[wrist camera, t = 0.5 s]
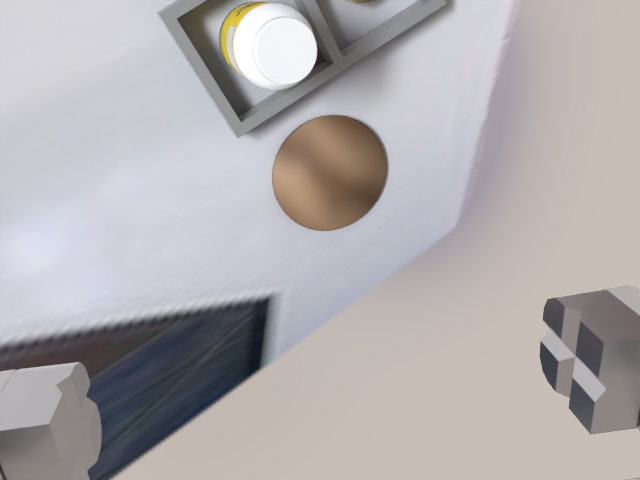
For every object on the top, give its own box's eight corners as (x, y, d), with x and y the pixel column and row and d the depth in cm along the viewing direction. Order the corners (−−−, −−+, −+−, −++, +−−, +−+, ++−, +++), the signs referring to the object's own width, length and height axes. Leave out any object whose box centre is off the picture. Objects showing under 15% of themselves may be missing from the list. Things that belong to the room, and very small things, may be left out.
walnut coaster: (299, 96, 55) (301, 97, 54) (401, 139, 60) (403, 140, 59) (254, 210, 58) (255, 212, 57) (355, 241, 63) (356, 243, 62)
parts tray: (232, 132, 54) (237, 138, 52) (156, 12, 48) (158, 13, 46) (433, 3, 55) (446, 4, 53) (382, -128, 50) (395, -134, 47)
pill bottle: (298, 18, 52) (343, 24, 42) (274, 87, 54) (311, 109, 43) (230, -12, 49) (261, -13, 39) (207, 62, 51) (230, 79, 41)
